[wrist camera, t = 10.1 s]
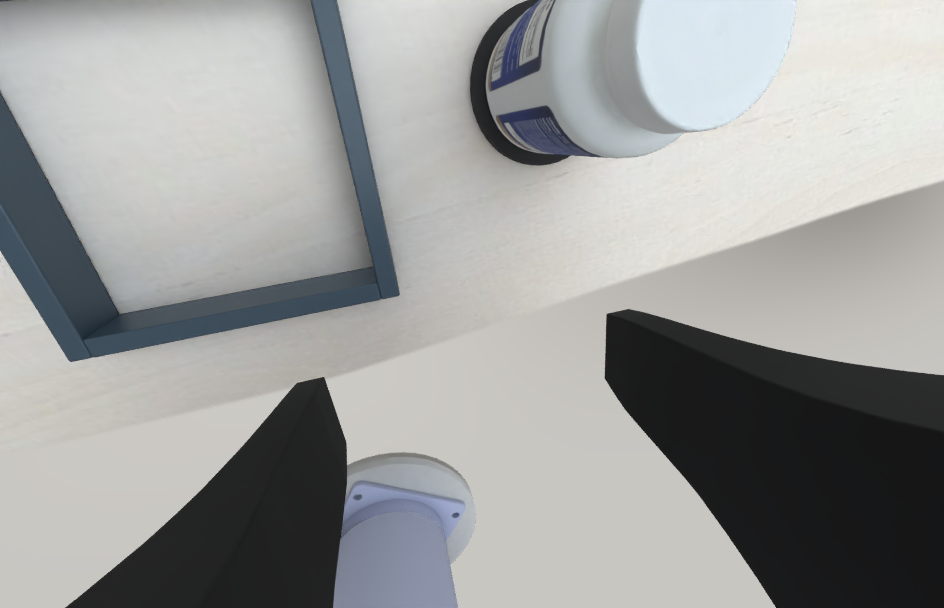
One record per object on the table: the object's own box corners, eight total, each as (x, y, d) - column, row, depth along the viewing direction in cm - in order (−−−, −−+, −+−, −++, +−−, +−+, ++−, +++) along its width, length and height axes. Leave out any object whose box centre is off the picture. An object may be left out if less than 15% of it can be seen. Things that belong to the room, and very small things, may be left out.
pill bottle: (610, 128, 19) (822, 116, 10) (505, 170, 18) (628, 198, 9) (585, -8, 16) (835, -182, 8) (465, 38, 16) (580, -89, 7)
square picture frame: (396, 278, 19) (400, 296, 17) (108, 334, 17) (68, 363, 15) (326, -50, 14) (317, -86, 12) (-93, -24, 12) (-198, -62, 10)
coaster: (560, 188, 20) (564, 189, 19) (444, 121, 17) (446, 120, 17) (631, 57, 18) (637, 55, 18) (515, -37, 16) (518, -41, 15)
